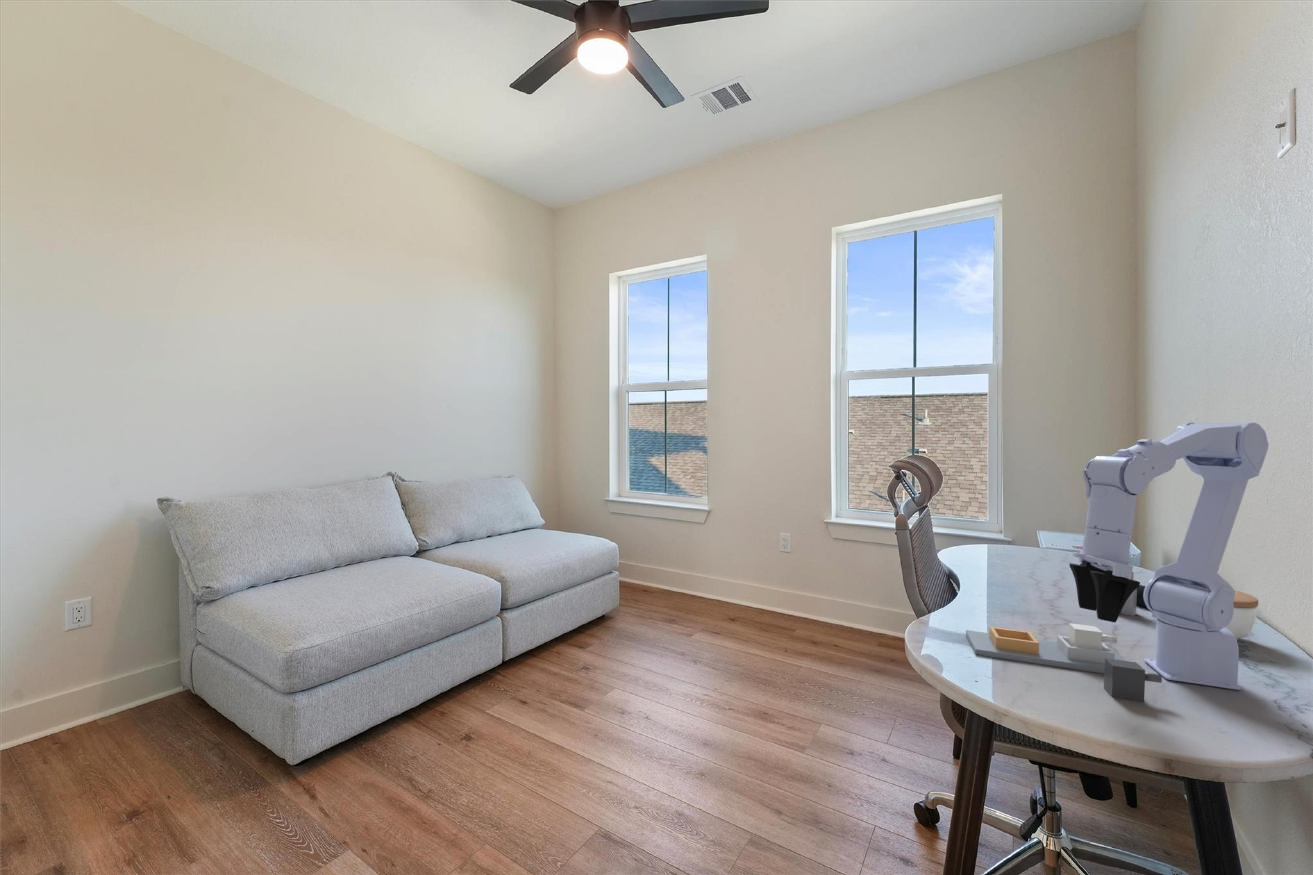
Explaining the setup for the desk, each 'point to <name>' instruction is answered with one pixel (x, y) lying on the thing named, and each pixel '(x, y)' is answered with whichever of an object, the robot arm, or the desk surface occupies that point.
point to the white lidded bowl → (1242, 614)
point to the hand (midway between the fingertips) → (1096, 614)
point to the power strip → (1048, 647)
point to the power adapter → (1130, 603)
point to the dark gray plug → (1126, 679)
